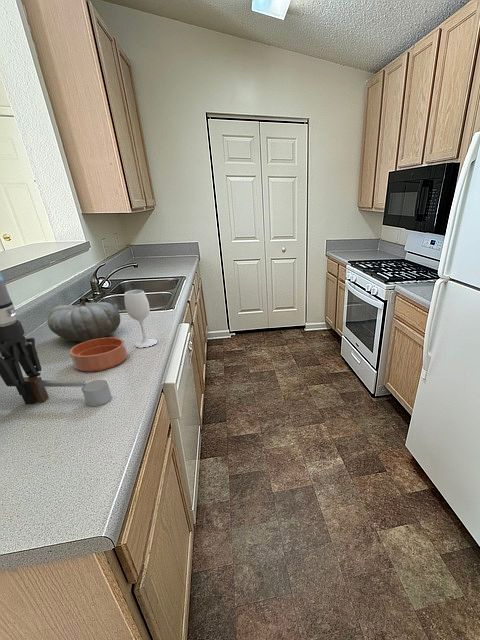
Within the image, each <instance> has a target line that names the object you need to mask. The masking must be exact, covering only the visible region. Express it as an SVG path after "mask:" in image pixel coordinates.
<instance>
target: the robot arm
mask: <svg viewBox="0 0 480 640" xmlns="http://www.w3.org/2000/svg"><path fill="white" fill-rule="evenodd" d="M22 370H23V371H22ZM41 371H42V365H41V362H40V358H39V355H38V351H37V349H36V339H35V337H25V329H24V327H23V324H22V322H21V321H20V320H19V315H18V313H17V310H16V308H15V306H14V303H13V301H12V299H11V296H10V294H9V291H8V289H7V285H6V283H5V280H4V276H3V275H2V273H1V272H0V377H1V379H2V381H3V382H4V384H5V385H6V387H15V388H16V390H17V392H18V395H19V396H21V397H22V400H23V402H24V404H25V405H26V404H27V405H28V404H29V405H33V404H34V405H35V404H37V403H36V400H35V397H34V395H33V393H32V390H31V388H30V386H29V384H28V383H25V381H24V378H23V377H24V375H23V372H24V373H25V376H26V377H41V374H42V373H41Z"/></svg>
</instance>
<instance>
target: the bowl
mask: <svg viewBox="0 0 480 640" xmlns="http://www.w3.org/2000/svg"><path fill="white" fill-rule="evenodd" d="M69 355H70V358H71V361H72V364H73V366H74V368H75V369H76V370H78V371H82V372H86V373H87V372H91V373H92V372H101V371H105V369H106V370H109V369H112V368H115V367H117V366H119V365H121V364H122V363H123V362H124V361H125V360H126V359H127V357H128V352H127V348H126V344H125V341H124V339H122V338H120V337H113V336H112V337H107V336H105V337H103V338H98V339H93V340H89V341H85V342H80V343H78V344H75V345H73V347H71V348H70V350H69ZM114 366H115V367H114Z"/></svg>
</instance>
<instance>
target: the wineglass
mask: <svg viewBox="0 0 480 640" xmlns="http://www.w3.org/2000/svg"><path fill="white" fill-rule="evenodd" d="M123 298H124V307H125V311H126V313H127V315H128V316H129V317H130V318H131V319H133V320H135V321H137V322H139V326H140V328H141V333H142V339H140V340H138V341H136V342H135V343H134V345H133V346H134V347H135V348H137V347H138V348H137V349H144V348H143V347H146V348H150V347H149V346H151V347H153V346H152V345H154V344H156V343H157V341H158V340H157V339H155V338H148V337H147V334H146V331H145V325H144V320H145V319H147V317H149V314H150V311H151V309H150V308H151V307H150V303H149V300H148V297H147V295H146V292H145V291H144V290H143V289H132V290H128V291H125V292H124V297H123ZM157 344H158V343H157ZM157 344H156V345H157ZM154 346H155V345H154Z"/></svg>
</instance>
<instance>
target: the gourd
mask: <svg viewBox="0 0 480 640" xmlns="http://www.w3.org/2000/svg"><path fill="white" fill-rule="evenodd" d="M120 324H121V313H120V311H119V309H118V308H117V306H115V305H114V304H112V303H111V302H107V301H97V302H95V301H94V302H92V301H91V302H87V301H86V297H82V298H81V301H80V303H77V304H76V305H74V304H73V305H72V304H59V305H57V306H55V307H53V308H52V309H51V310H50V311H49V314H48V318H47V326H48V328H49V330H50V331H51V332H52V333H54V334H55V335H57V337H60V338H62V339H65V340H67V341H70V342H80V343H82V342H85V341H89V340H93V339H98V338H106V337H107V336H110V335H111V334H113V333H115V332H116V331H117V330H118V328H119V326H120Z"/></svg>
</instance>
